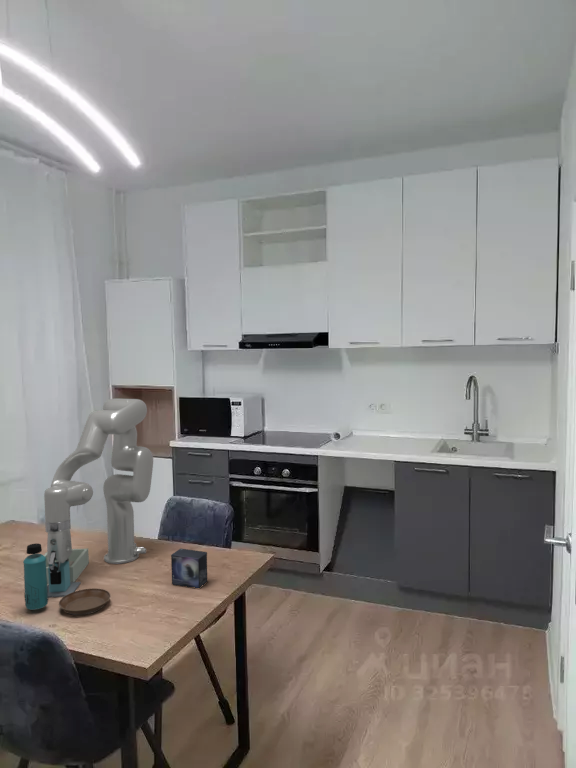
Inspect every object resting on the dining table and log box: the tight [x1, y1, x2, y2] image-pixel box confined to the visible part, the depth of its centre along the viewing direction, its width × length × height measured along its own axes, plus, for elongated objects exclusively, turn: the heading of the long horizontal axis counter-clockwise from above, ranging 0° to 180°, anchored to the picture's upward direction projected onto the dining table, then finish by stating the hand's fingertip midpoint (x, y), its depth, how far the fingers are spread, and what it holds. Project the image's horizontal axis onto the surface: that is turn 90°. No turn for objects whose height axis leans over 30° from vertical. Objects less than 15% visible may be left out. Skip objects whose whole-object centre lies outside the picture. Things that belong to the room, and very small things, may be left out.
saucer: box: [58, 587, 111, 616], centre depth 170 cm, size 15×15×3 cm
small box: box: [170, 548, 208, 589], centre depth 186 cm, size 11×6×10 cm, turn 70°
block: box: [48, 561, 70, 592], centre depth 181 cm, size 5×5×8 cm
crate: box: [43, 548, 90, 585], centre depth 195 cm, size 14×18×6 cm
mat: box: [47, 581, 82, 599], centre depth 181 cm, size 10×10×1 cm
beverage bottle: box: [22, 542, 49, 611], centre depth 167 cm, size 6×7×20 cm
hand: (59, 578), depth 181 cm, fingers open, 6 cm apart
